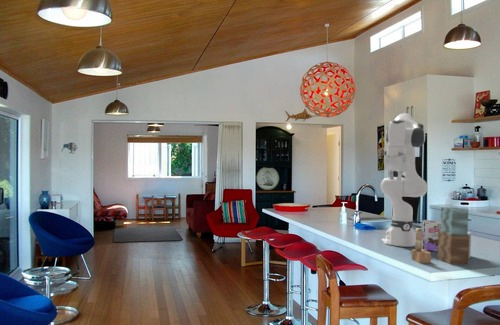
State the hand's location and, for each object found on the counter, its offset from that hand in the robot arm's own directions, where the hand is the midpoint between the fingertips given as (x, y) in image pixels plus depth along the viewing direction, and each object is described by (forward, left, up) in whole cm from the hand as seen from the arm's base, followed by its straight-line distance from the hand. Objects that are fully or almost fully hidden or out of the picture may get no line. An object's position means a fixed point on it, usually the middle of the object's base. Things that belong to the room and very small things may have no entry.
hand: (395, 180), depth 241 cm
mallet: (+7, +9, -31) cm, 33 cm away
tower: (+7, +28, -39) cm, 49 cm away
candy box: (-19, +32, -39) cm, 54 cm away
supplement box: (-5, +40, -39) cm, 56 cm away
